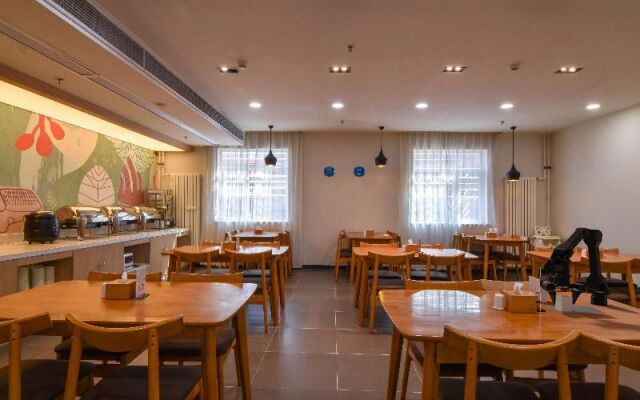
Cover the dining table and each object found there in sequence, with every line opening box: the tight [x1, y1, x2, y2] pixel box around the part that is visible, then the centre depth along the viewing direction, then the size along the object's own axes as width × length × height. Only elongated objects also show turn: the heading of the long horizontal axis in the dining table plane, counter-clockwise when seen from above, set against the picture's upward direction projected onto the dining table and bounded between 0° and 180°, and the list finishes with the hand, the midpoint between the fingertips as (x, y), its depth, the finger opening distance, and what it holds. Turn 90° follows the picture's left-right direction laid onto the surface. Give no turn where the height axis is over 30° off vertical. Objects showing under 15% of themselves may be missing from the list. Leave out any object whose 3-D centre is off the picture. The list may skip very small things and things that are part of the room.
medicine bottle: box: [538, 278, 548, 303], centre depth 218 cm, size 7×7×12 cm
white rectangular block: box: [554, 294, 573, 311], centre depth 197 cm, size 5×5×7 cm
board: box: [544, 305, 606, 314], centre depth 198 cm, size 22×14×1 cm, turn 89°
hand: (563, 304), depth 197 cm, fingers open, 9 cm apart
